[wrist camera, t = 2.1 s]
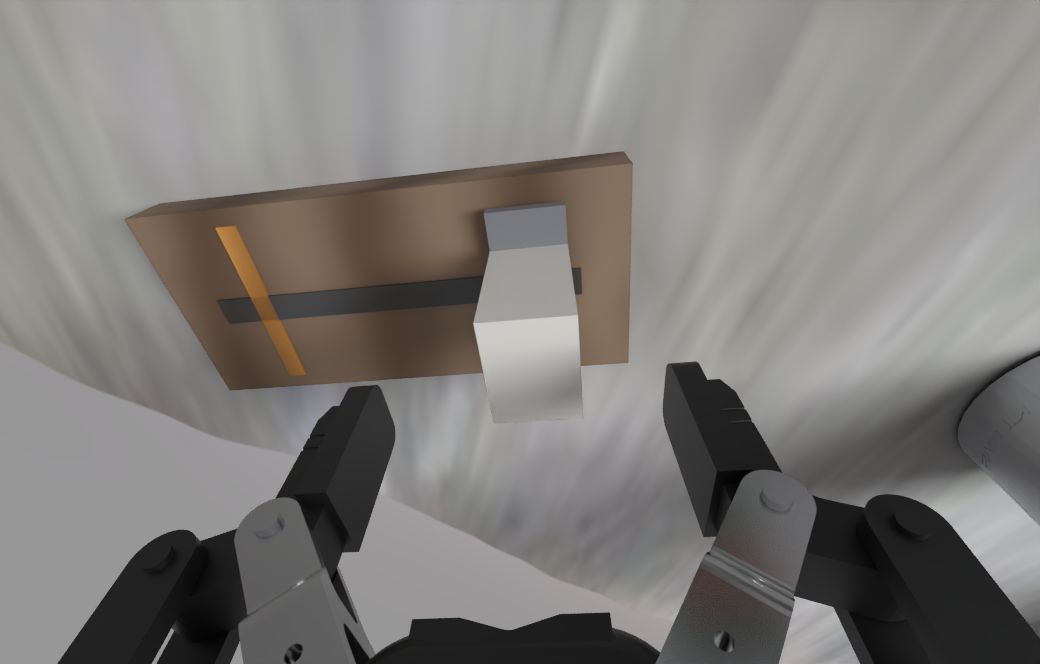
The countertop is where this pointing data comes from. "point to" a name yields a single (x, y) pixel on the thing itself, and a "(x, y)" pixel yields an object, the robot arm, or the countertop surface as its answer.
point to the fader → (529, 316)
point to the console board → (381, 269)
